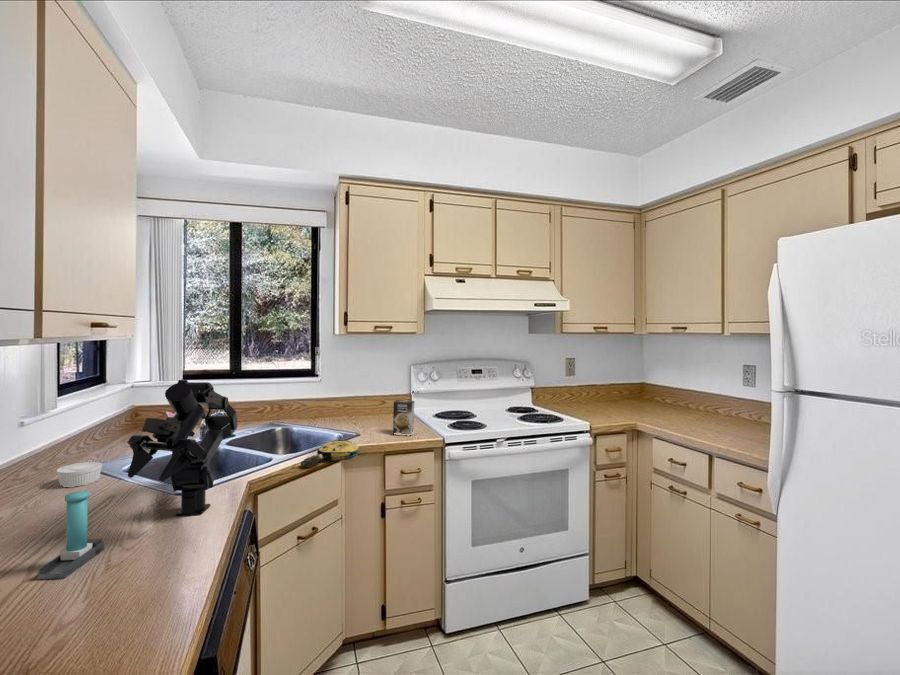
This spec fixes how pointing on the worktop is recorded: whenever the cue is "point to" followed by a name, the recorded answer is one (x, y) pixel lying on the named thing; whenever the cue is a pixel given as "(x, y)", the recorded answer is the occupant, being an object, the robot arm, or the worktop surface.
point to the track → (69, 562)
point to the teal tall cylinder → (76, 526)
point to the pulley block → (333, 452)
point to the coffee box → (403, 417)
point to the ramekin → (79, 473)
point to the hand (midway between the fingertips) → (144, 478)
